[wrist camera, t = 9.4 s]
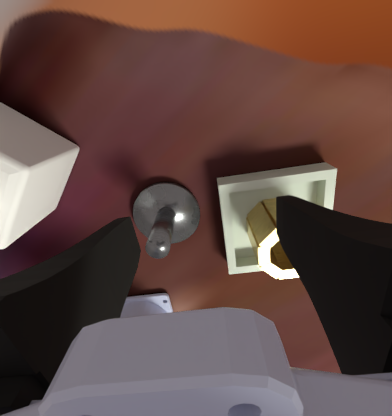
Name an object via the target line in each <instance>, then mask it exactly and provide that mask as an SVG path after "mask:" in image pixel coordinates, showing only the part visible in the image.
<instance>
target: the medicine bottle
mask: <svg viewBox="0 0 392 416" xmlns="http://www.w3.org/2000/svg"><path fill="white" fill-rule="evenodd" d="M79 149H80V148H79V146H77V145H76V144H74V143H72V142H71V141H69V140H67V139H65V138H63V137H62V136H60V135H58V134H56V133H55V132H53V131H51V130H49V129H47V128H46V127H44V126H42V125H40V124H38V123H37V122H35V121H33V120H31V119H30V118H28V117H26V116H24V115H22V114H21V113H19V112H17V111H15V110H13V109H12V108H10V107H8V106H6V105H5V104H3V103H1V102H0V249H5V248H6V247H8V246H9V245H10V244H11V243H13V242H14V241H15V240H17V239H18V238H19V237H20V236H22V235H23V234H24V233H25V232H27V231H28V230H29V229H31V228H32V227H33V226H34V225H36V224H37V223H38V222H39V221H41V220H42V219H43V218H45V217H46V216H47V215H48V214H50V213H51V212H52V211H53V210H55V209H56V207H57V205H58V202H59V200H60V197H61V195H62V192H63V190H64V187H65V185H66V182H67V180H68V177H69V175H70V172H71V170H72V167H73V165H74V162H75V160H76V157H77V155H78V152H79Z"/></svg>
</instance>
